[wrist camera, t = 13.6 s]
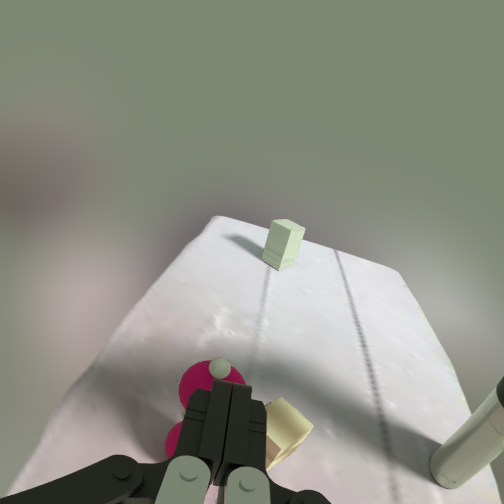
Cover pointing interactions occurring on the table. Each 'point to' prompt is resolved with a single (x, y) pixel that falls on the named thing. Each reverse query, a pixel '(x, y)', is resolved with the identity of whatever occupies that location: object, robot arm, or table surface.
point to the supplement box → (282, 244)
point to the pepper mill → (202, 379)
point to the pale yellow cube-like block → (283, 431)
